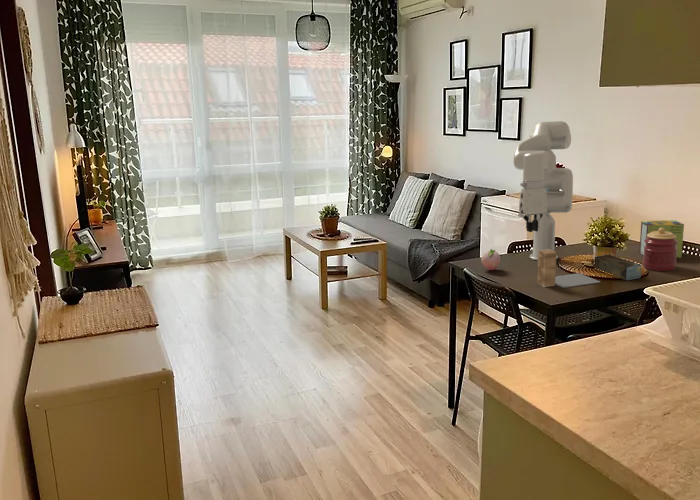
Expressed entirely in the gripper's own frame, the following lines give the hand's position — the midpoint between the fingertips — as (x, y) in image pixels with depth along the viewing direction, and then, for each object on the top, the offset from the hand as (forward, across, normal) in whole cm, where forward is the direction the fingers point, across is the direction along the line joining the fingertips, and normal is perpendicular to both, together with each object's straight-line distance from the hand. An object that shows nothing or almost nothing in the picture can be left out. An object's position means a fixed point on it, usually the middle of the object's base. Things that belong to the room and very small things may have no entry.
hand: (532, 230), depth 233 cm
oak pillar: (+23, +7, 0) cm, 24 cm away
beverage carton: (+24, +42, +1) cm, 48 cm away
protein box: (+23, +78, +18) cm, 84 cm away
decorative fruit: (+23, -3, +28) cm, 37 cm away
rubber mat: (+23, +19, 0) cm, 30 cm away
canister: (+23, +63, +1) cm, 67 cm away
